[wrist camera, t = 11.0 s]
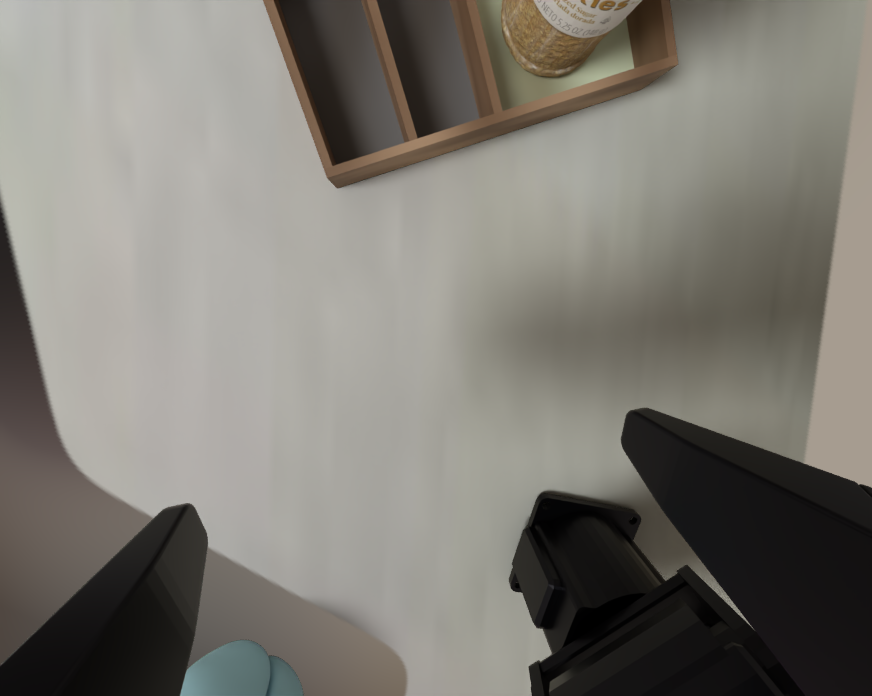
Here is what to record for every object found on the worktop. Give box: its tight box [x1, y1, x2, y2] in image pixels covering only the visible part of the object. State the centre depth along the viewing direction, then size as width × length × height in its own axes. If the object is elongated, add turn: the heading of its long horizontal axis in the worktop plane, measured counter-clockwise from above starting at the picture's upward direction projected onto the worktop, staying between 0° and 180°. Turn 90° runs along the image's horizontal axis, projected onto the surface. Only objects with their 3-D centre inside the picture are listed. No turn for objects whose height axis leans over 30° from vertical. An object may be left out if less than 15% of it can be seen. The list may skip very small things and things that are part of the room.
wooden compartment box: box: [263, 0, 678, 188], centre depth 16 cm, size 15×8×2 cm, turn 108°
